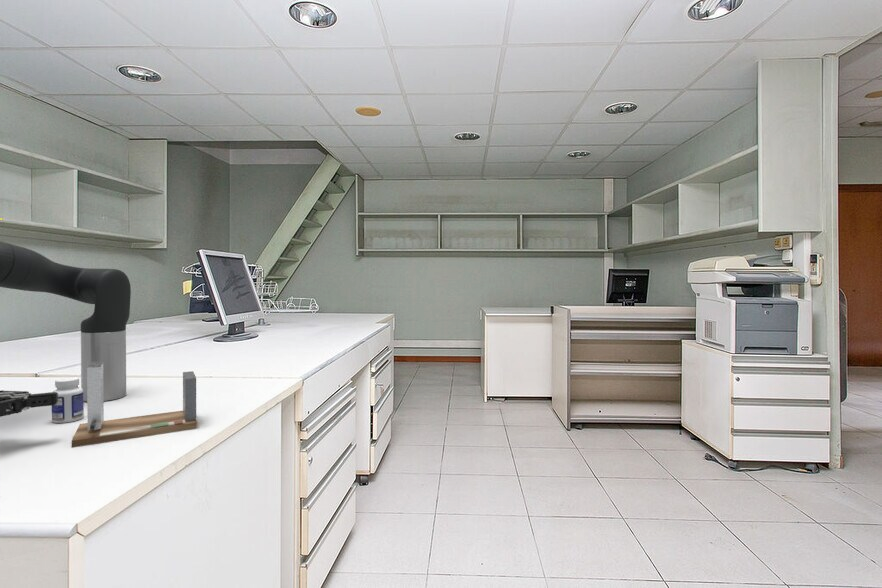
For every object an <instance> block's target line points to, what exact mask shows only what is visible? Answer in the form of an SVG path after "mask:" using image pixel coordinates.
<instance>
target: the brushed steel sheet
mask: <svg viewBox="0 0 882 588" xmlns="http://www.w3.org/2000/svg"><path fill="white" fill-rule="evenodd" d="M86 403H87V406H86V407H87V411H86V412H87V414H86V415H87V423H88V431H89V430H97V429H101V427H102V424H103V421H105V420H104V419H105V417H104V415H105V413H104V406H105V404H104V403H105V401H104V391H103V362H97V363H90V365H89V366H88V367H87V402H86Z"/></svg>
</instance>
